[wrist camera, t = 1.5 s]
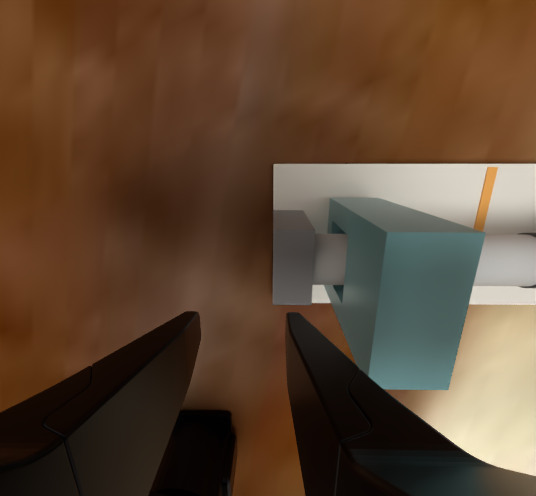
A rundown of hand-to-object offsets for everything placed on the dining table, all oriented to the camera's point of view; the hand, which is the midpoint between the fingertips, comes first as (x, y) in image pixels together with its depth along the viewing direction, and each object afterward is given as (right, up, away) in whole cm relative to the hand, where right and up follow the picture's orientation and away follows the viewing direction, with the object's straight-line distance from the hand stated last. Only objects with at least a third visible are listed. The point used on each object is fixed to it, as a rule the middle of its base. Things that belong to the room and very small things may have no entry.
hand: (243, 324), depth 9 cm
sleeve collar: (+6, +3, +9) cm, 11 cm away
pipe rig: (+11, +3, +11) cm, 16 cm away
